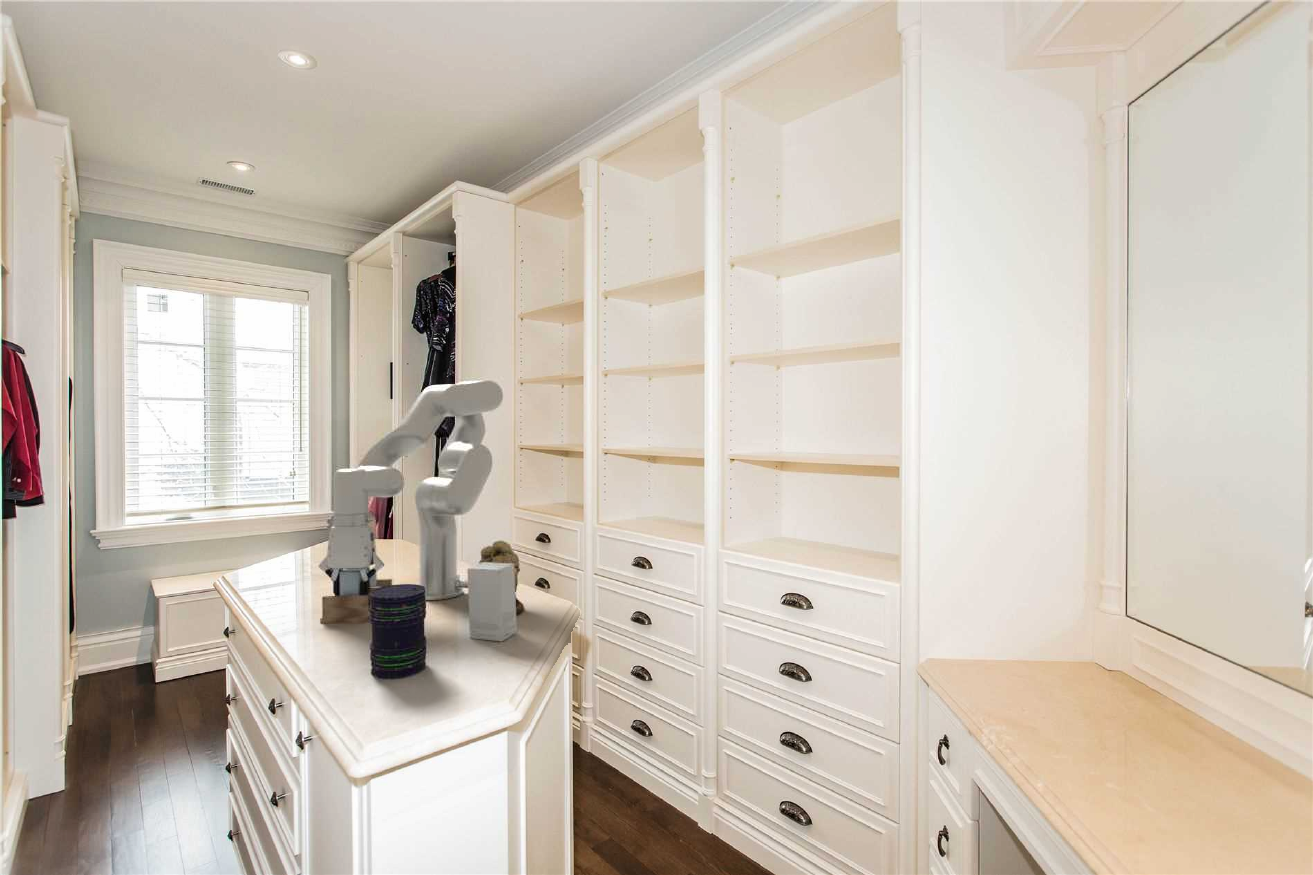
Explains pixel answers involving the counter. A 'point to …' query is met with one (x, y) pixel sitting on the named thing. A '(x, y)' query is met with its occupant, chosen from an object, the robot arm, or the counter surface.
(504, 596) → the skincare box
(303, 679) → the counter surface
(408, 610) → the storage jar
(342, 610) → the rack
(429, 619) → the counter surface
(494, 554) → the brown rough rounded piece
